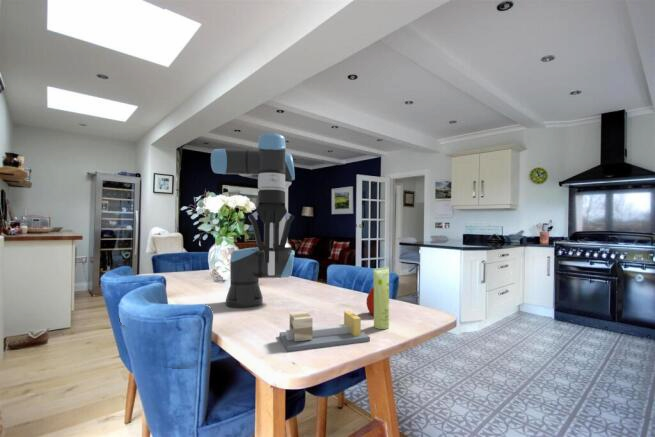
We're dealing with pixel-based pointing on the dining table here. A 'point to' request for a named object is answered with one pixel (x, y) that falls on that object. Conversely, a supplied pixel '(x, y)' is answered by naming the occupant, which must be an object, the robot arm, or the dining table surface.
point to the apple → (370, 301)
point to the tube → (381, 298)
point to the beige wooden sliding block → (301, 326)
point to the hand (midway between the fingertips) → (271, 274)
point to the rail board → (328, 335)
